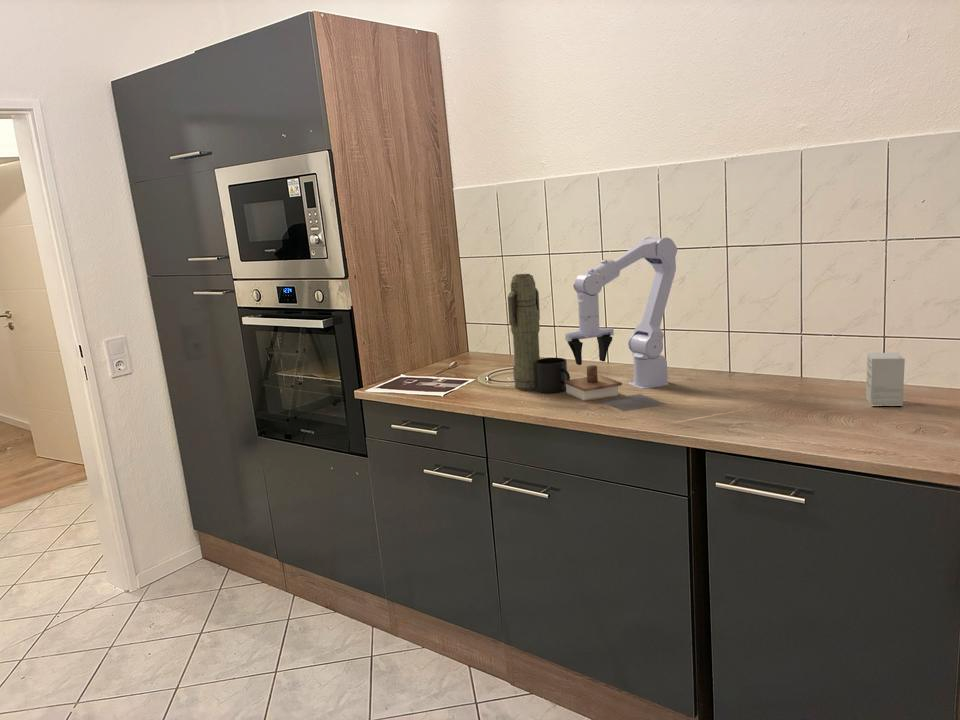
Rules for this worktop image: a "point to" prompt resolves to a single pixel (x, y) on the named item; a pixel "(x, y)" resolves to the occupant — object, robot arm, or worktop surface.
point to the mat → (632, 402)
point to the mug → (551, 375)
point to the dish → (592, 393)
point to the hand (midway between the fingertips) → (590, 362)
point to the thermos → (524, 329)
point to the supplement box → (885, 379)
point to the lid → (592, 381)
